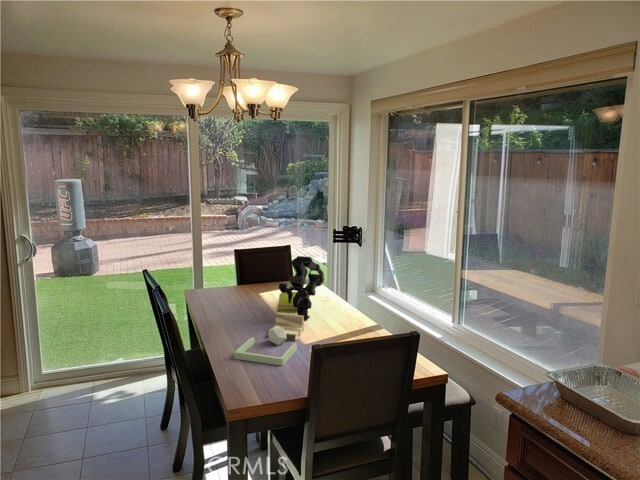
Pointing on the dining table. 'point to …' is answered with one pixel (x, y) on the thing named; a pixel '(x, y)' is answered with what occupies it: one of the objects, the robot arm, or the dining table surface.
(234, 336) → the dining table surface
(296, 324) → the block
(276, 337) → the die
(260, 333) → the dining table surface
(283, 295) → the dish towel
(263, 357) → the fence
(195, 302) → the dining table surface
